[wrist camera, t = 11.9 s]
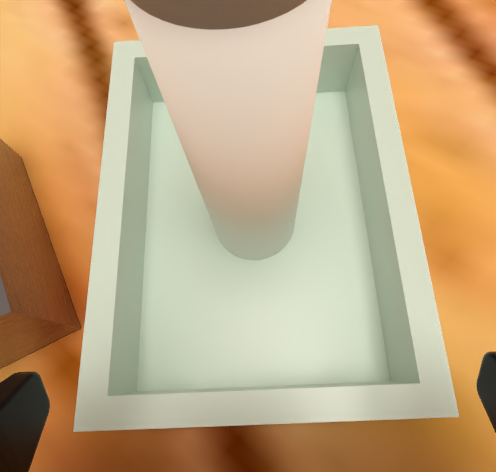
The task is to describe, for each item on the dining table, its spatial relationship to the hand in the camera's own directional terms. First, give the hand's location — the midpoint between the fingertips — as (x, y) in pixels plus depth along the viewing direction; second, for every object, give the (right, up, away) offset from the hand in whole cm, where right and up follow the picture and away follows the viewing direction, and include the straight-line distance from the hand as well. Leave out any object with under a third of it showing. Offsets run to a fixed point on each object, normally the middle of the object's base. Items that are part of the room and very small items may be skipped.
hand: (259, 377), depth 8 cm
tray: (0, +3, +11) cm, 11 cm away
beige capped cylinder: (0, +4, +10) cm, 10 cm away
